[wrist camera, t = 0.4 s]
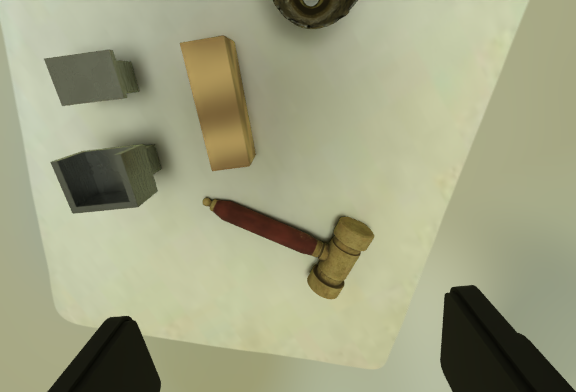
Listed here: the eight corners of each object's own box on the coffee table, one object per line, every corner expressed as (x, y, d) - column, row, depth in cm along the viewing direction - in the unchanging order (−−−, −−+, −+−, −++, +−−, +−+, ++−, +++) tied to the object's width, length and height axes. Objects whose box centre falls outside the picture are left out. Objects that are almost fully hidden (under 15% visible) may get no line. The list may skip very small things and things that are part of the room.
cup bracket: (113, 140, 34) (50, 161, 26) (166, 134, 34) (120, 154, 25) (127, 180, 36) (72, 213, 27) (177, 175, 36) (138, 207, 27)
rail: (197, 48, 31) (179, 42, 26) (234, 41, 30) (223, 35, 26) (223, 158, 35) (212, 171, 30) (255, 154, 35) (249, 166, 30)
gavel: (184, 241, 36) (208, 169, 32) (198, 224, 40) (221, 160, 37) (339, 305, 37) (378, 243, 34) (336, 282, 41) (371, 225, 38)
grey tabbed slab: (89, 62, 31) (43, 58, 26) (142, 54, 31) (108, 49, 25) (102, 101, 33) (62, 105, 27) (153, 94, 32) (123, 98, 27)
